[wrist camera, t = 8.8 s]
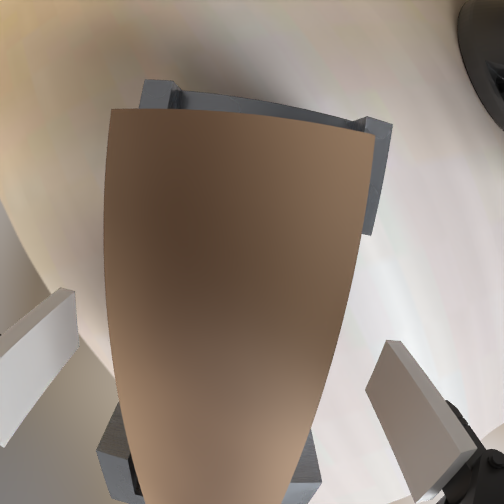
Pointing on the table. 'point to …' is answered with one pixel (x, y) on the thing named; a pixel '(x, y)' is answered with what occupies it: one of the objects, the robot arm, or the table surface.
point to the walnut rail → (226, 291)
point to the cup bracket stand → (172, 97)
